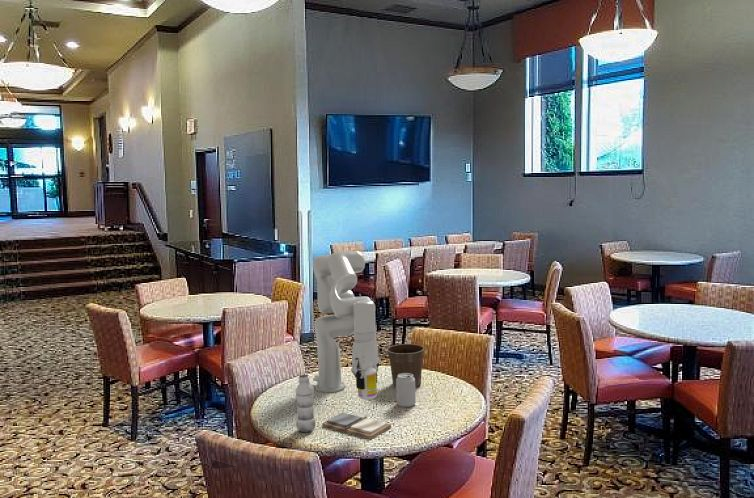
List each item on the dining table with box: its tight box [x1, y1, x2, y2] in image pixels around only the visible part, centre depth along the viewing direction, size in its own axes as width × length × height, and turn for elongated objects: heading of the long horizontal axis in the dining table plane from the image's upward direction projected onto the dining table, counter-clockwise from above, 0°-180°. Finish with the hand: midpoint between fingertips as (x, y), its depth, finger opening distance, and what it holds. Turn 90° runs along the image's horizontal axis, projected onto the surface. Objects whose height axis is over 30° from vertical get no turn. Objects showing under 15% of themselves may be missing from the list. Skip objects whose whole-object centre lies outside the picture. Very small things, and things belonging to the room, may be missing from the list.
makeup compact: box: [321, 412, 392, 440], centre depth 222 cm, size 22×12×2 cm, turn 54°
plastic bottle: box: [295, 374, 316, 433], centre depth 219 cm, size 6×7×20 cm
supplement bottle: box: [357, 362, 378, 400], centre depth 217 cm, size 7×7×13 cm
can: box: [395, 373, 417, 408], centre depth 242 cm, size 8×8×12 cm
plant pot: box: [386, 343, 425, 389], centre depth 266 cm, size 16×16×16 cm
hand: (367, 385), depth 217 cm, fingers closed on supplement bottle, 6 cm apart
